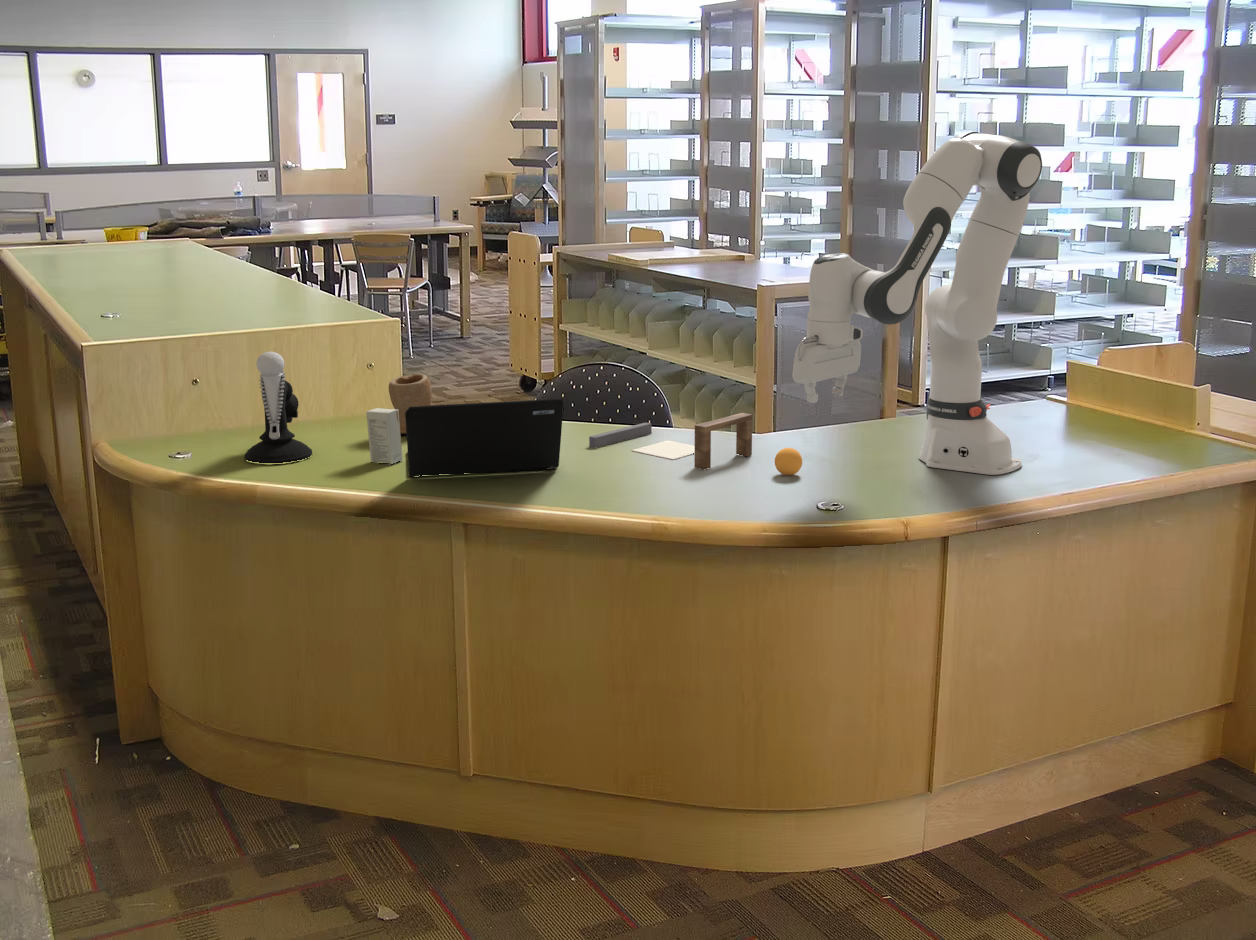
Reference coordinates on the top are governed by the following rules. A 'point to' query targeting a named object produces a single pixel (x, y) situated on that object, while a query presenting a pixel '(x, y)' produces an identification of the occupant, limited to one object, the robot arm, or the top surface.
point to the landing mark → (667, 450)
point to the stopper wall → (620, 435)
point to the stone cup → (409, 394)
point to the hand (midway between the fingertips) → (825, 399)
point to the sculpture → (277, 415)
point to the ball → (788, 461)
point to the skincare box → (384, 435)
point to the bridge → (705, 428)
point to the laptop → (484, 437)
